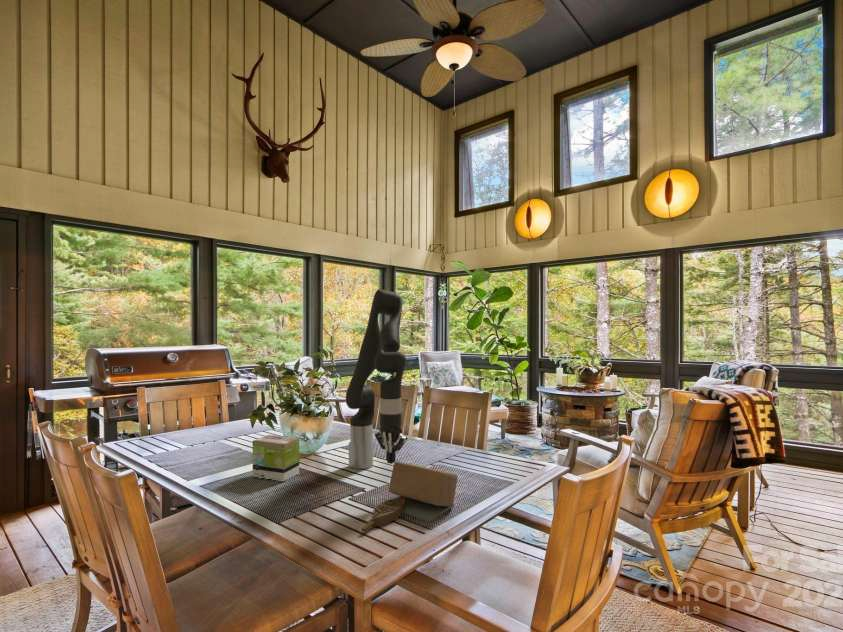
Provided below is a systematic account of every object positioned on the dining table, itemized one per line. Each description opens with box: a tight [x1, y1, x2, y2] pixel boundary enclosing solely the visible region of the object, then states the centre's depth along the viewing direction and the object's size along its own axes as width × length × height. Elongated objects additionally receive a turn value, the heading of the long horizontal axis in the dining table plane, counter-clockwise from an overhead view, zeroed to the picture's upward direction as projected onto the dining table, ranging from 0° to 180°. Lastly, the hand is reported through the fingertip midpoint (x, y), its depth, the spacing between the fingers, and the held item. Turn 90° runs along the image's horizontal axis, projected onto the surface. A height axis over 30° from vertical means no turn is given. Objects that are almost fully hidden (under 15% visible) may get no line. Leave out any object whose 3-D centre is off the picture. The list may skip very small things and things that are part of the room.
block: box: [388, 461, 458, 507], centre depth 147 cm, size 10×10×20 cm
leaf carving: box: [361, 497, 405, 532], centre depth 136 cm, size 7×22×3 cm, turn 153°
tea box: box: [252, 434, 300, 481], centre depth 176 cm, size 15×10×15 cm
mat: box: [382, 494, 455, 522], centre depth 146 cm, size 20×14×1 cm
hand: (390, 462), depth 152 cm, fingers closed
